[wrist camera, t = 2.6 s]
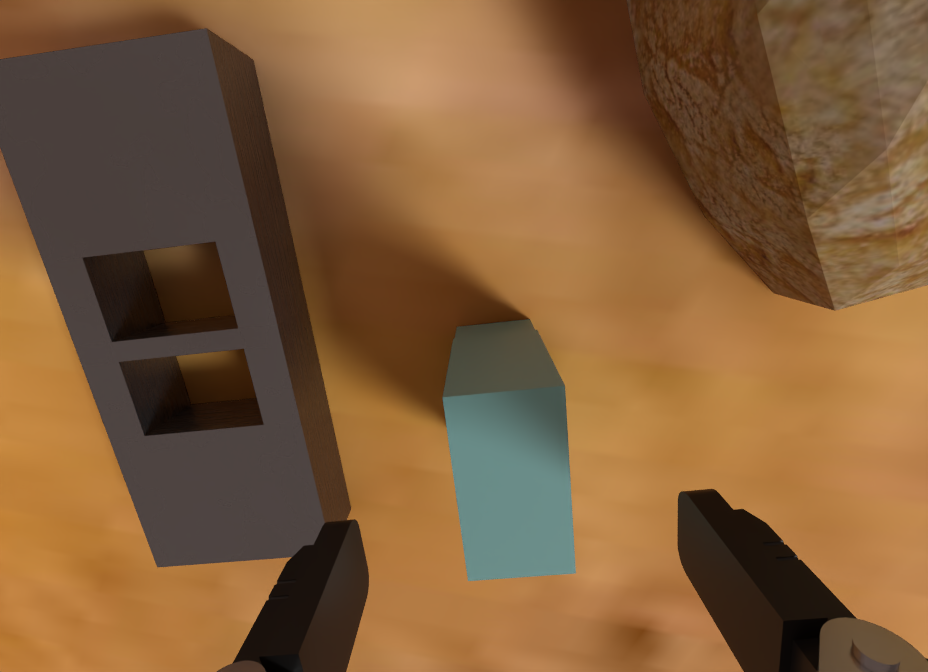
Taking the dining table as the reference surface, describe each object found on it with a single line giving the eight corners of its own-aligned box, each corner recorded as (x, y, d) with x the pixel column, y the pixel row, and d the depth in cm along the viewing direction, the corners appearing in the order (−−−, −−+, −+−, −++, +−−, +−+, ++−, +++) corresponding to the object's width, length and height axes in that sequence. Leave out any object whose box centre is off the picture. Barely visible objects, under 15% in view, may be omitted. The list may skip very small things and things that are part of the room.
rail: (54, 88, 17) (-32, 63, 14) (253, 59, 17) (206, 28, 14) (198, 521, 23) (157, 567, 20) (351, 508, 22) (332, 553, 19)
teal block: (456, 322, 19) (442, 397, 12) (529, 314, 19) (564, 385, 11) (471, 444, 21) (467, 580, 13) (539, 438, 21) (575, 573, 13)
